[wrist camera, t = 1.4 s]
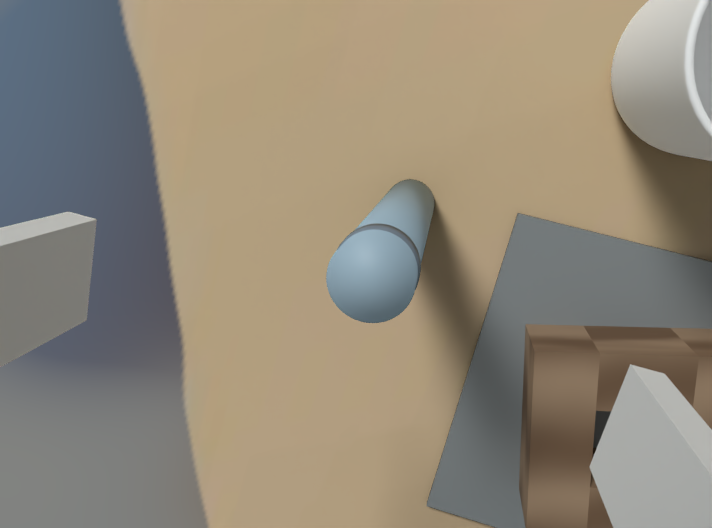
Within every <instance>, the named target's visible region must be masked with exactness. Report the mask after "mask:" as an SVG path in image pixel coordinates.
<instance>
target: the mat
mask: <svg viewBox="0 0 712 528" xmlns="http://www.w3.org/2000/svg"><path fill="white" fill-rule="evenodd" d="M525 324H537V325H578V326H618V327H659V328H700V329H712V262H711V261H707V260H703V259H699V258H695V257H691V256H687V255H683V254H679V253H675V252H672V251H668V250H664V249H660V248H656V247H652V246H648V245H644V244H640V243H636V242H632V241H628V240H624V239H620V238H616V237H612V236H608V235H604V234H600V233H596V232H592V231H588V230H584V229H580V228H576V227H572V226H568V225H564V224H560V223H556V222H552V221H548V220H544V219H540V218H536V217H532V216H528V215H524V214H520V213H518V214H517V217H516V221H515V224H514V227H513V230H512V233H511V237H510V240H509V243H508V246H507V249H506V252H505V256H504V259H503V262H502V265H501V268H500V272H499V275H498V278H497V281H496V284H495V287H494V291H493V294H492V297H491V300H490V303H489V307H488V310H487V313H486V316H485V319H484V323H483V326H482V329H481V332H480V335H479V338H478V342H477V345H476V348H475V351H474V354H473V358H472V361H471V364H470V367H469V370H468V373H467V377H466V380H465V383H464V386H463V389H462V393H461V396H460V399H459V402H458V405H457V409H456V412H455V415H454V418H453V421H452V424H451V428H450V431H449V434H448V437H447V440H446V444H445V447H444V450H443V453H442V456H441V459H440V463H439V466H438V469H437V472H436V475H435V479H434V482H433V485H432V488H431V491H430V495H429V498H428V501H427V506H428V507H431V508H435V509H438V510H441V511H444V512H448V513H451V514H454V515H457V516H461V517H464V518H467V519H470V520H474V521H477V522H480V523H483V524H486V525H490V526H493V527H496V528H525V522H524V516H523V510H522V504H521V498H520V492H519V473H520V449H521V424H522V399H523V374H524V349H525ZM610 414H611V411H596V416H595V429H594V442H593V448H597V446H598V444H599V441H600V439H601V436H602V434H603V431H604V429H605V426H606V424H607V421H608V419H609V416H610Z"/></svg>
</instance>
